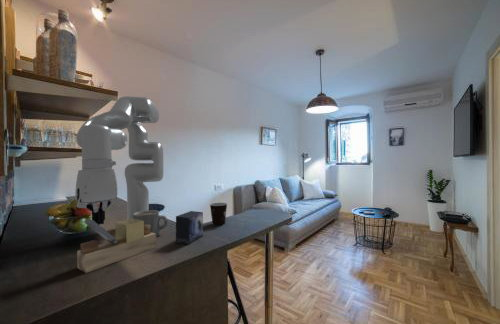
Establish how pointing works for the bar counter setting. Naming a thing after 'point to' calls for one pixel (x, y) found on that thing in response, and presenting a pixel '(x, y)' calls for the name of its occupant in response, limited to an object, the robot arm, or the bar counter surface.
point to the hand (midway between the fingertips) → (98, 223)
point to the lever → (101, 231)
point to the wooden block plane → (112, 251)
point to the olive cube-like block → (129, 230)
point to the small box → (189, 227)
